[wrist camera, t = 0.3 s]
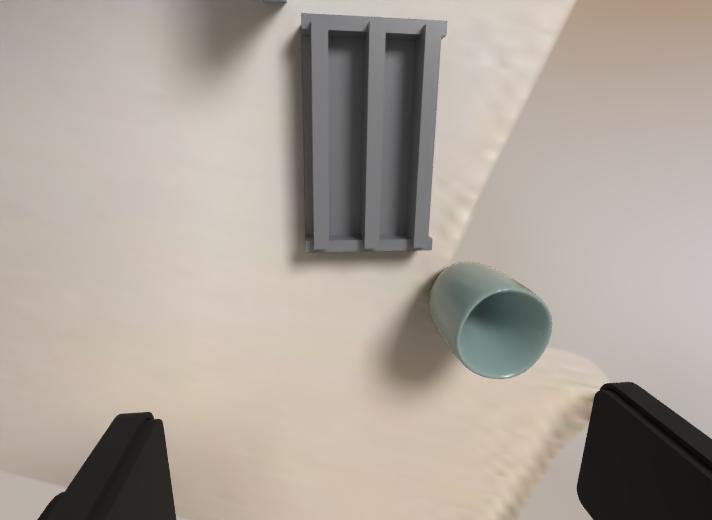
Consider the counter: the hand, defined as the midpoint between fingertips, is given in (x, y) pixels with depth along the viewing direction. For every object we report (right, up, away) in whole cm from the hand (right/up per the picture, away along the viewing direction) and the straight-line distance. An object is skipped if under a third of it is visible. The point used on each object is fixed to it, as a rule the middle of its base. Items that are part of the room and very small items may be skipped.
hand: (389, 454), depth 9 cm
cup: (+9, +1, +32) cm, 34 cm away
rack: (0, +14, +27) cm, 31 cm away
